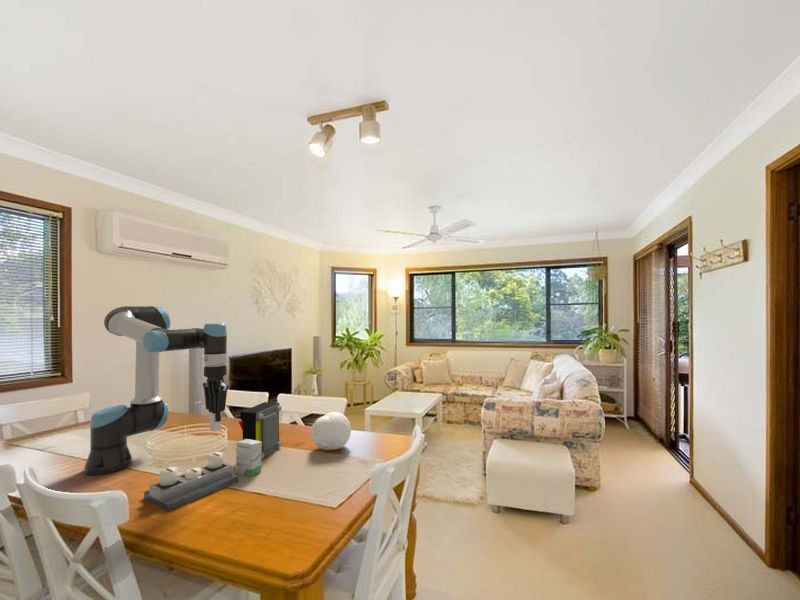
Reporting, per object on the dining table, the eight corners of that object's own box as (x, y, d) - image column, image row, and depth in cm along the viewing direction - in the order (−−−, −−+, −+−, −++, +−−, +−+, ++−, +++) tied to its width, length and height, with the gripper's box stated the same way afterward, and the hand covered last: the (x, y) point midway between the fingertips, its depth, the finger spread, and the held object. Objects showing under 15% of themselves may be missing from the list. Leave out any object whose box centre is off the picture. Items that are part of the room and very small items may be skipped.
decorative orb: (362, 446, 170) (362, 411, 171) (335, 460, 155) (335, 421, 156) (329, 439, 181) (329, 406, 181) (301, 451, 166) (301, 414, 166)
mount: (143, 498, 125) (143, 482, 126) (214, 472, 145) (214, 458, 146) (167, 511, 116) (167, 495, 117) (238, 481, 137) (238, 467, 137)
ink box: (235, 473, 144) (235, 442, 144) (246, 468, 149) (245, 437, 149) (251, 477, 140) (251, 445, 141) (262, 471, 145) (262, 440, 145)
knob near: (156, 483, 124) (156, 470, 124) (172, 477, 128) (173, 465, 128) (164, 487, 121) (164, 473, 121) (180, 481, 125) (180, 468, 125)
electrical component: (260, 462, 154) (260, 413, 155) (238, 460, 157) (238, 411, 157) (283, 447, 171) (283, 402, 172) (263, 445, 174) (263, 402, 174)
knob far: (204, 466, 137) (204, 454, 137) (218, 461, 141) (218, 450, 141) (212, 469, 134) (212, 457, 134) (225, 464, 138) (225, 452, 139)
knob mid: (182, 483, 130) (182, 470, 130) (196, 477, 134) (196, 465, 135) (189, 486, 128) (189, 474, 128) (204, 481, 132) (204, 468, 132)
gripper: (195, 365, 140) (194, 429, 139) (216, 367, 132) (216, 436, 131) (214, 362, 146) (214, 424, 145) (235, 365, 138) (236, 430, 137)
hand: (215, 429), depth 138 cm, fingers closed
